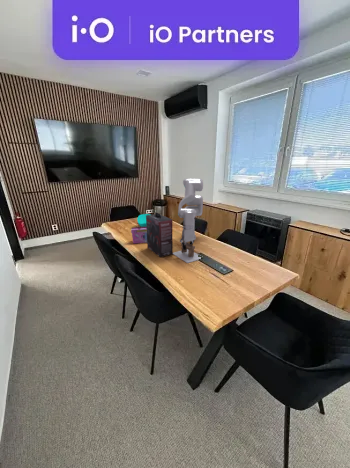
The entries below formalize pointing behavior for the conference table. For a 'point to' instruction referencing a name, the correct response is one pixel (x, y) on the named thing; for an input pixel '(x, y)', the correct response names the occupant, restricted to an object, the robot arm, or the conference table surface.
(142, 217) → the table top decor
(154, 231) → the headset box
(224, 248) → the conference table surface
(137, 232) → the gum box
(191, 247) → the walnut stool
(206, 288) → the conference table surface
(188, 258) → the grey pad
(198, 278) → the conference table surface
